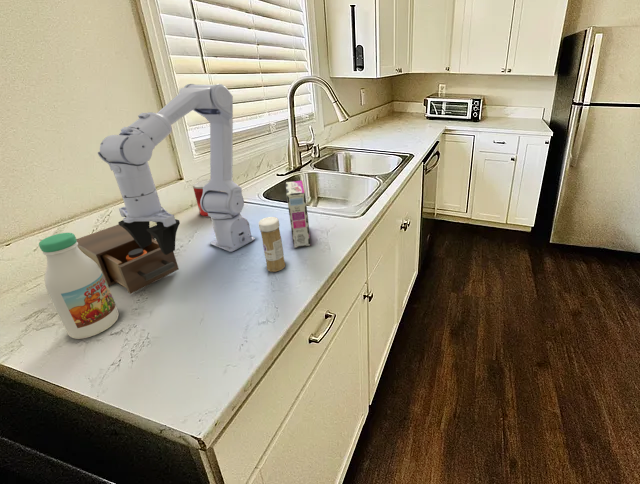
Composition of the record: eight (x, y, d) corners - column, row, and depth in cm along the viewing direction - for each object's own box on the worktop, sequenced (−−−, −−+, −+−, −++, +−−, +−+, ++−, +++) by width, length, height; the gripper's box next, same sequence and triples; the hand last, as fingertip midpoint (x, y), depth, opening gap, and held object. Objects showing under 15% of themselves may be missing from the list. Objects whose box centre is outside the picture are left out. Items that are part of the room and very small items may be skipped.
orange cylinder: (147, 264, 82) (140, 245, 80) (155, 268, 80) (149, 249, 78) (128, 273, 78) (121, 253, 76) (137, 277, 77) (130, 257, 75)
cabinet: (162, 261, 86) (152, 232, 83) (108, 286, 77) (96, 254, 73) (136, 248, 92) (126, 221, 89) (84, 270, 83) (71, 240, 79)
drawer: (188, 274, 79) (181, 249, 77) (140, 300, 71) (130, 272, 68) (152, 256, 87) (144, 233, 84) (104, 278, 78) (94, 253, 76)
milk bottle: (62, 346, 60) (15, 254, 53) (77, 319, 67) (36, 233, 60) (114, 331, 64) (76, 242, 56) (124, 306, 70) (91, 224, 63)
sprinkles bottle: (263, 269, 82) (254, 221, 77) (277, 260, 86) (269, 214, 81) (275, 274, 80) (266, 226, 75) (289, 265, 84) (282, 218, 79)
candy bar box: (312, 246, 93) (305, 192, 87) (293, 249, 91) (285, 195, 85) (308, 228, 102) (302, 179, 96) (292, 231, 101) (284, 181, 95)
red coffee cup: (214, 218, 110) (207, 187, 106) (194, 216, 111) (186, 186, 107) (230, 208, 117) (223, 179, 113) (211, 206, 118) (204, 178, 114)
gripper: (95, 194, 66) (116, 252, 71) (142, 204, 61) (162, 265, 66) (132, 183, 72) (149, 236, 77) (177, 191, 67) (193, 248, 72)
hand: (157, 249), depth 72 cm, fingers open, 7 cm apart
